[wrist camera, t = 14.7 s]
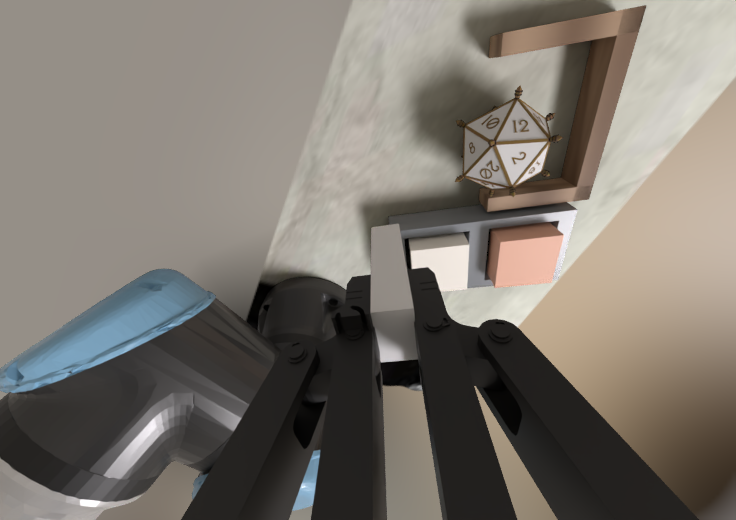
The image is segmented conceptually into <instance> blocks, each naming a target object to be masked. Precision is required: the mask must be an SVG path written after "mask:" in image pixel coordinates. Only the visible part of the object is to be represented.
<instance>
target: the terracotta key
mask: <svg viewBox="0 0 736 520" xmlns="http://www.w3.org/2000/svg"><path fill="white" fill-rule="evenodd" d="M563 238H564V235H563V234H562V233H561V232H560V231H559V230H558V229H557V228H556V227H555V226H553V225H552V224H551V223H550V222H543V223H534V224H525V225H517V226H508V227H500V228H491V232H490V242H489V252H488V262H487V274H488V276H489V278H490V279H491V281H492V283H493V285H494V287H495V288H499V287H510V286H520V285H531V284H542V283H552V279H553V275H554V272H555V268H556V264H557V260H558V257H559V253H560V249H561V245H562V242H563Z"/></svg>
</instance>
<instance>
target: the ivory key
mask: <svg viewBox="0 0 736 520" xmlns="http://www.w3.org/2000/svg"><path fill="white" fill-rule="evenodd" d="M408 240H409V251H410V263H411V269H417V268H425V267H428V268H429V269H430V270H432V271H433V272H434V273H435V276H436V279H437V282H438V286H439V289H440V292H443V291H454V290H465V289H467V282H468V263H469V243H468V241H467V239H466V237H465V235H464V233H463V232H457V233H448V234H440V235H431V236H423V237H414V238H408Z"/></svg>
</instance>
